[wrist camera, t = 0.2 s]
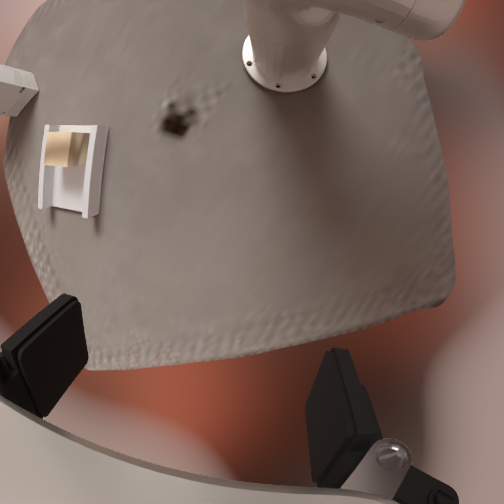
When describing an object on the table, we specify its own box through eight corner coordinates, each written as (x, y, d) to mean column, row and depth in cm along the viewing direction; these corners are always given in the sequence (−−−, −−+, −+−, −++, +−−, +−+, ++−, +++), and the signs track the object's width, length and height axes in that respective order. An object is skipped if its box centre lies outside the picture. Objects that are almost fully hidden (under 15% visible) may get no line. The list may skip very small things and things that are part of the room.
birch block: (66, 132, 41) (47, 131, 36) (90, 133, 41) (71, 132, 36) (62, 162, 43) (43, 164, 38) (85, 165, 43) (67, 167, 38)
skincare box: (17, 117, 41) (-35, 116, 27) (10, 97, 40) (-39, 94, 25) (41, 89, 39) (-12, 80, 25) (34, 70, 38) (-17, 59, 24)
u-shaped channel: (57, 125, 42) (45, 124, 38) (109, 126, 42) (97, 125, 38) (50, 204, 46) (38, 208, 43) (99, 213, 46) (87, 218, 43)
